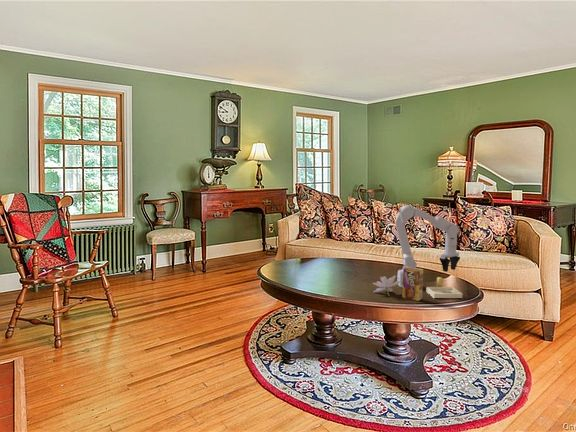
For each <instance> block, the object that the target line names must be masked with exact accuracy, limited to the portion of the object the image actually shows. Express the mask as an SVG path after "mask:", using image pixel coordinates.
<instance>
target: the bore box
mask: <svg viewBox="0 0 576 432" xmlns="http://www.w3.org/2000/svg"><path fill="white" fill-rule="evenodd" d="M425 292H426V293H427V294H428V295H429V294H430V295H429V296H431V297H432V298H433V299H434V298H462V299H463V293H462V292H461V291H459V290H458V289H456V288H455V287H454V286H443V287H437V286H425Z"/></svg>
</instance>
